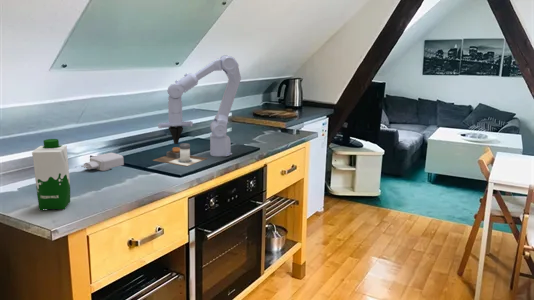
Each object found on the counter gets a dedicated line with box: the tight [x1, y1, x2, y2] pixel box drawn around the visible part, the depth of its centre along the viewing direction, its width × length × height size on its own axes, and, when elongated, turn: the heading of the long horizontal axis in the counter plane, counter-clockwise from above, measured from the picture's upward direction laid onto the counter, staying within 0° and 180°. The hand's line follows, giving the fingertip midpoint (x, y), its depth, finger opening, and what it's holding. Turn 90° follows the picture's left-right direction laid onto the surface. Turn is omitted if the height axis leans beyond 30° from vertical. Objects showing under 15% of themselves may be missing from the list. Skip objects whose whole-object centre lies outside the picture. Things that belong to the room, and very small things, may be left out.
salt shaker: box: [179, 142, 191, 162], centre depth 183 cm, size 4×4×7 cm
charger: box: [81, 152, 125, 172], centre depth 173 cm, size 5×9×15 cm
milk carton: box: [31, 138, 71, 211], centre depth 131 cm, size 9×9×20 cm
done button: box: [172, 146, 180, 153], centre depth 191 cm, size 3×3×2 cm
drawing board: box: [152, 149, 209, 167], centre depth 186 cm, size 15×18×3 cm
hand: (176, 143), depth 190 cm, fingers closed
